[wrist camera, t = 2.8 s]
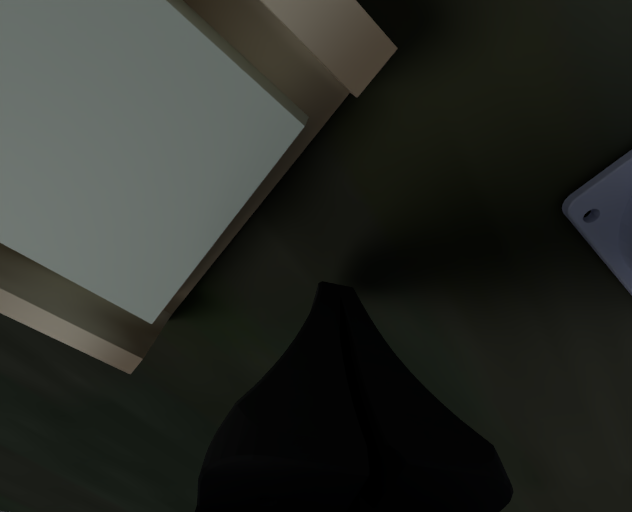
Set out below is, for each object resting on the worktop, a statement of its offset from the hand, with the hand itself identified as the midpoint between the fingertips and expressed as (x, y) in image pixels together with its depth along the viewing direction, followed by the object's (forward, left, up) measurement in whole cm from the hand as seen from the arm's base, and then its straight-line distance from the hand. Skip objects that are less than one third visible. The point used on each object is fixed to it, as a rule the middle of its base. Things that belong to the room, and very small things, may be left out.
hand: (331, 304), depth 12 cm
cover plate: (+9, 0, -1) cm, 9 cm away
